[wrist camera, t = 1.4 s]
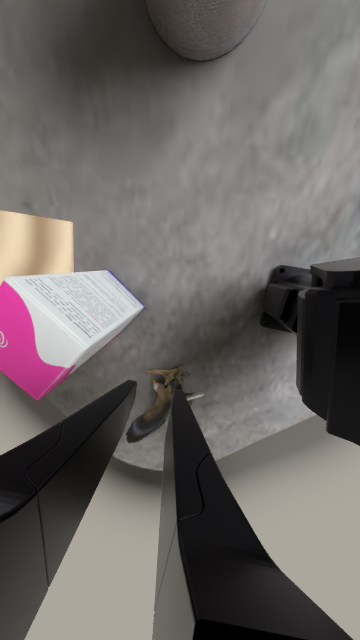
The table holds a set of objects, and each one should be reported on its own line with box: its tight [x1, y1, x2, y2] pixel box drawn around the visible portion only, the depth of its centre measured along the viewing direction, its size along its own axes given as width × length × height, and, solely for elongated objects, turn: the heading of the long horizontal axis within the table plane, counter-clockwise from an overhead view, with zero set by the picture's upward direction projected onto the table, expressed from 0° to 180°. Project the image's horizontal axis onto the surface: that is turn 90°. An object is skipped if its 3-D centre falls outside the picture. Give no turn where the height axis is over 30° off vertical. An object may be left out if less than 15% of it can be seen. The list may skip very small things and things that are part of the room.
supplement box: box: [0, 270, 145, 400], centre depth 16 cm, size 6×6×12 cm
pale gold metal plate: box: [0, 210, 74, 285], centre depth 21 cm, size 9×14×1 cm, turn 171°
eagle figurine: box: [126, 364, 204, 443], centre depth 21 cm, size 8×7×9 cm
